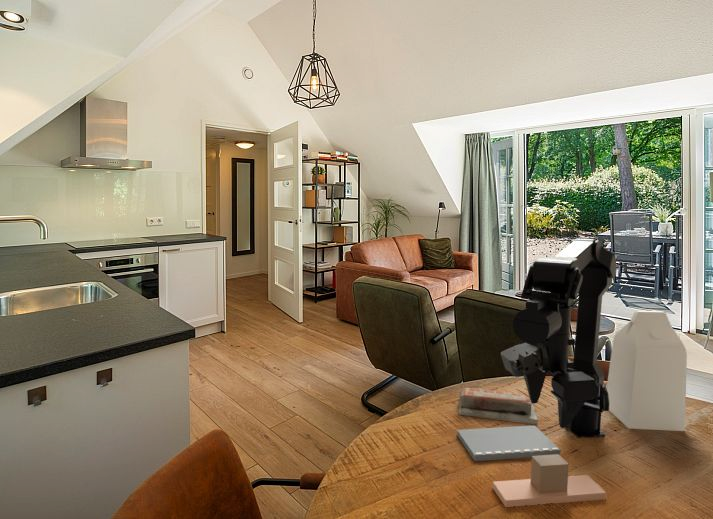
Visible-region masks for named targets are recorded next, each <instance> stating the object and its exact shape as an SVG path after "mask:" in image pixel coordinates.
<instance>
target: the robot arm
mask: <svg viewBox="0 0 713 519" xmlns="http://www.w3.org/2000/svg"><path fill="white" fill-rule="evenodd" d="M616 275H617V261H616V258H615V255H614V253H613V252H612V251H610V250H608V249H607V248H605V247H604V246H602V244H601V242H600V240H597V239H596V238H575V239H571V240H570V242H569V245H567V246H566V247H565V248H563V249H562V250H561V251H560V252H558V254H556V255H554V256H542V257H538V258H537V259H535V260H534V261H533V264H531V265H530V266H529V268H528V272H527V275H526V278H525V281H524V286H523V288H522V291H521V296H520V298H521V299H522V300H526V302H525V308H523V309H521V310H519V311H518V312H517V313H516V314H515V316H514V318H513V321H512V330H513V332H514V334H515V335H516V337H517V338H518V339H519V340H520V341H522V342H523V343H519V344H516V345H513V346H511V347H508V348H507V349H506V348H505V349H504V350H502V351H501V352H500V357H501V359H502V363H503V366H504V368H505V370H506V371H508V372H509V373H510V374H512V376H514V377H516V378H520V377H523V379H524V382H525V385H526V389H527V393H528V396H529V397H528V398H529V399H530V402H531V403H532V404H537V403H538V401H539V399H540V397H541V394H542V391H543V386H544V383H545V380H546V376H547V375H549V376H550V377H551V378H550V379H551V380H550V381H551V382H550V383H551V384H550V385H551V389H552V390H550V393H551V394H552V395H553V396H554V397H555V398H556V399H557V412H558V415H557V416H558V423H559V424H558V425H559V427H560V428H561V429H567V430H568V431H570V432H571V433H572V434H573V435H575V436H576V437H577V438H591V437H592V438H593V437H605V436H606V433H605V432H604V431H603V430H602V429H601V426H602V425H601V423H602V422H601V421H602V413H604V412H610V411H609V404H610V402H609V395H608V391H607V384H605V382H604V381H605V375H604V372H603V371H602V368H601V367H600V365H599V363H598V350H599V341H600V340H599V338H600V329H601V315H602V302H603V296H604V295H605V293H606V292H607V291H608V290H609V289H610V288H611V286H612V285H613V279H614V278H616ZM577 299H578V300H577ZM574 300H577V311H576V313H577V314H576V325H575V335H574V336H575V337H574V338H573V337H571V336H570V334H571V333H570V332H571V313H572V311H571V310H572V304H573V302H574ZM570 346H574V347H573V348H574V349H573V360H571V359H569V356H570V355H569V353H570V352H569V351H570Z"/></svg>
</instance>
